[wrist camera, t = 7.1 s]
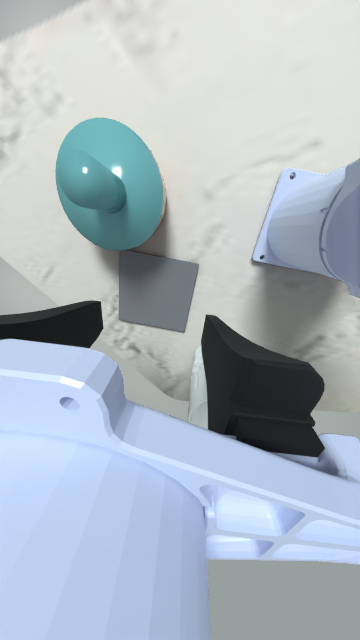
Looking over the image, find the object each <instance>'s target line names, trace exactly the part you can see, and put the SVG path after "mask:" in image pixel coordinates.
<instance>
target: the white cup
mask: <svg viewBox="0 0 360 640" xmlns="http://www.w3.org/2000/svg"><path fill="white" fill-rule="evenodd" d="M188 422H189V423H191V424H194V425H197V426H200V427H202V428H205V429H208V408H207V385H206V376H205V370H204V364H203V358H202V352H201V345H200V346H199V347H198V348H197V349H196V351H195V355H194V359H193V367H192V376H191V385H190V399H189V412H188Z"/></svg>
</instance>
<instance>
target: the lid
mask: <svg viewBox="0 0 360 640" xmlns="http://www.w3.org/2000/svg"><path fill="white" fill-rule="evenodd" d="M56 184H57V190H58V194H59V198H60V201H61V204H62V206H63V208H64V211H65V213H66V214H67V216H68V218H69V220H70V221H71V223H72V224H73V225H74V227H75V228H76V229H77V230H78V231H79V232H80V233H81V234H82V235H83V236H84V237H85V238H86V239H88V240H89V241H91V242H92V243H94V244H95V245H98V246H100V247H102V248H105V249H109V250H119V251H120V250H127V249H131V248H134V247H137V246H139V245H141V244H142V243H144V242H145V241H146V240H147V239H149V237H150V236H151V235H152V234H153V232H154V231H155V229H156V228H157V226H158V224H159V221H160V218H161V215H162V211H163V204H164V190H163V183H162V178H161V174H160V171H159V168H158V166H157V164H156V161H155V159H154V157H153V155H152V154H151V152H150V150H149V149H148V147H147V146H146V144H145V143H144V142H143V140H142V139H141V138H140V137H139V136H138V135H137V134H136V133H135V132H134V131H132V130H131V129H130V128H129V127H127V126H125V125H124V124H122V123H120V122H117V121H115V120H112V119H107V118H93V119H88V120H86V121H83V122H81V123H80V124H78V125H76V126H75V127H74V128H73V129H72V130H71V131H70V132H69V133H68V134H67V136H66V137H65V139H64V141H63V142H62V144H61V147H60V150H59V152H58V157H57V161H56Z"/></svg>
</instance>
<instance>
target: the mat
mask: <svg viewBox="0 0 360 640" xmlns="http://www.w3.org/2000/svg"><path fill="white" fill-rule="evenodd" d="M198 266H199V264H196V263H191V262H186V261H181V260H176V259H170V258H165V257H160V256H155V255H150V254H145V253H139V252H134V251H129V250H120V274H119V320H123V321H128V322H134V323H139V324H144V325H150V326H155V327H160V328H166V329H171V330H176V331H182V332H184V331H185V326H186V321H187V317H188V312H189V308H190V303H191V298H192V294H193V289H194V284H195V280H196V275H197V271H198Z"/></svg>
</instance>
